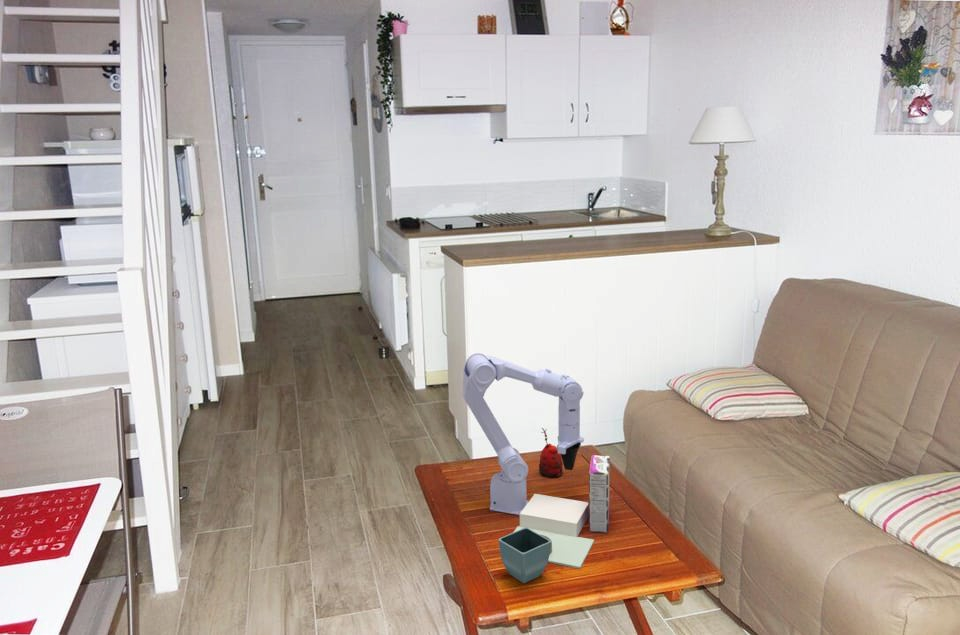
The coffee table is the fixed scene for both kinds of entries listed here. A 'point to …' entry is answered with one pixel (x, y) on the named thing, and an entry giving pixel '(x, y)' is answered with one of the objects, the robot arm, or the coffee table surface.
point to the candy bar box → (599, 494)
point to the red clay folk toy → (550, 460)
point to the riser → (555, 514)
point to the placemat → (566, 548)
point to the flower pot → (524, 554)
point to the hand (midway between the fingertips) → (568, 468)
